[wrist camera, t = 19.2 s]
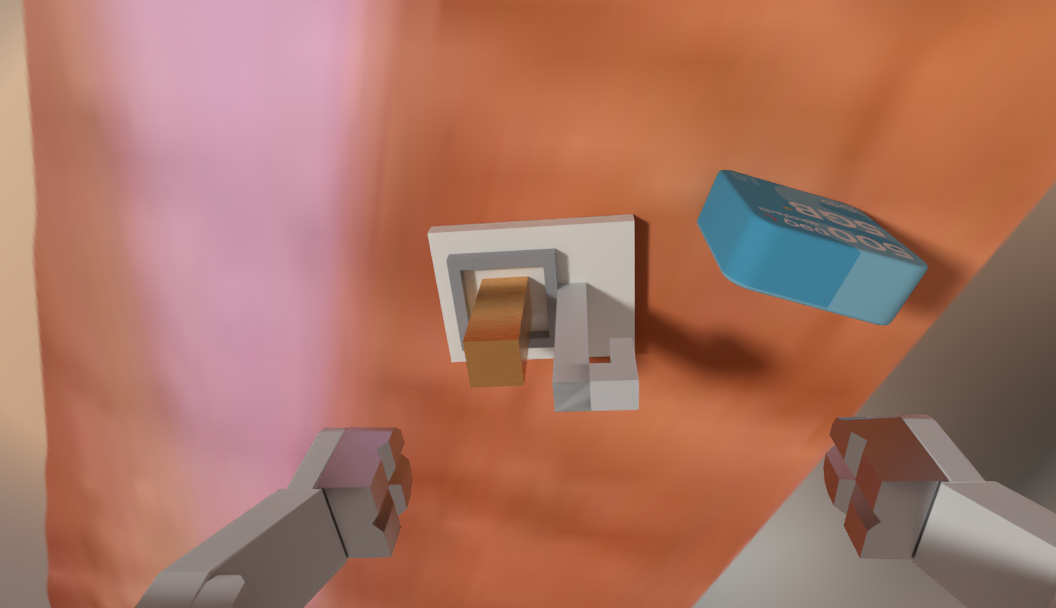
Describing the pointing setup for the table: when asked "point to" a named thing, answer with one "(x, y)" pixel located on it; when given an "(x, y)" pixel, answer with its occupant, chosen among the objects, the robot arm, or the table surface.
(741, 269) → the data package
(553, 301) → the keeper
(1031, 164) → the table surface
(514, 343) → the wooden square pillar
